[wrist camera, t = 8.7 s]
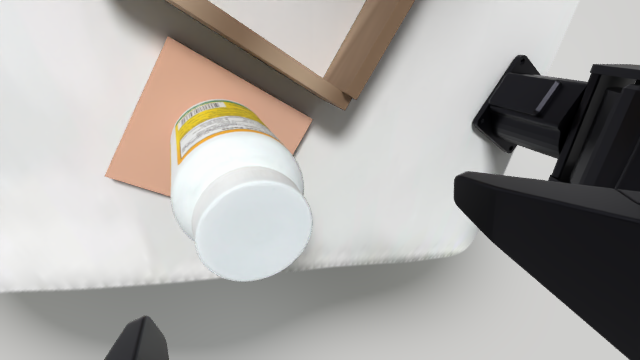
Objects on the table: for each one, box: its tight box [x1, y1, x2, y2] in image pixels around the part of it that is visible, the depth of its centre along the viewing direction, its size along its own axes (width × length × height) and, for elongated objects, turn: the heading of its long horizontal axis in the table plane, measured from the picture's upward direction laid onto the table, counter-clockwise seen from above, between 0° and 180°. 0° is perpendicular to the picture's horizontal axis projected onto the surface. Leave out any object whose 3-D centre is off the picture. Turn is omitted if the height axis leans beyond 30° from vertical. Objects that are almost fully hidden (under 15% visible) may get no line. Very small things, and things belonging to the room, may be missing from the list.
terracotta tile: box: [105, 36, 313, 197], centre depth 19 cm, size 9×8×1 cm
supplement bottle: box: [170, 99, 313, 281], centre depth 15 cm, size 5×5×10 cm
